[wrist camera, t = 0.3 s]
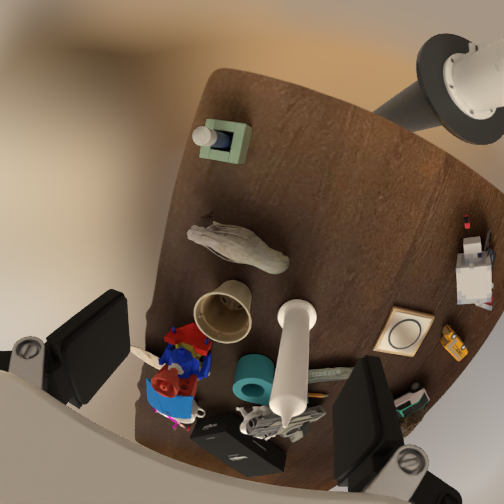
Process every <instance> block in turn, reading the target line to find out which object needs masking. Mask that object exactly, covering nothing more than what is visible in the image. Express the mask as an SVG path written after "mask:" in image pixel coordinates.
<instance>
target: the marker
mask: <svg viewBox="0 0 504 504" xmlns="http://www.w3.org/2000/svg"><path fill="white" fill-rule="evenodd" d="M232 139H233V136H230V135H227V134H224V133H221V132H218V131H215V130H213V129H210V128H207V127H204V126H201V127H198V128H197V129H195V131H194V132H193V141H194V142H195V143H196V144H197V145H201V146H211V147H218V148H225V149H231V144H232Z"/></svg>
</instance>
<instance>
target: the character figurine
mask: <svg viewBox="0 0 504 504" xmlns="http://www.w3.org/2000/svg"><path fill="white" fill-rule="evenodd" d="M153 410H155V411H154V413H156V412H159V411H158V410H156V409H155V408H153ZM159 413H160V414H162V413H161V412H159ZM162 415H164V416H165V417H168V418H169V419H171V420H172V421H173V422H175V425H174V426H173V427H172V428H173V429H174V430H176V429H177V428H176V426H177V425H180V426H181V427H183V428H184V429H185V430H186V431H189V430H190V428H191V426H192V423H188V424H187V423H181V422H179V421H176V420H174V419H173V418H171V417H170V416H168V415H165V414H162Z"/></svg>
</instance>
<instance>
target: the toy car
mask: <svg viewBox="0 0 504 504" xmlns="http://www.w3.org/2000/svg"><path fill="white" fill-rule="evenodd" d="M410 390H411V391H412V392H410V391H409V392H410V393H409V392H407V393H405V394H403V395H401V396H400V397H398V398H396V399H394V403H395V407H396V411H397V415H398V418H403V417H405V416H407V415H409V414H411V413H413V412H415V411H417V410H419V409H421V408H422V407H423V406H425V405H426V404H427V403H428V402H429V400H430V399H429V398H428V395H427V393H426V390H425V389H424V387H422V385H421V383H420V382H418V381H417V382H414V383H413V384H412V385H411V387H410Z"/></svg>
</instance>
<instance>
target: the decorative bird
mask: <svg viewBox="0 0 504 504" xmlns="http://www.w3.org/2000/svg"><path fill="white" fill-rule="evenodd" d="M212 212H213V211H212ZM212 212H211V213H210V214H208V215H205V216H204V217H201V218H205V219H207V220H208V221H210V220H211V221H212V223H213V224H214V225H211V226H209V227H207V226H206V228H203V227H198V226H195V225H193V226H192V227H191V230H188V232H187V235H188V239H190V240H192V241H194V242H195V243H198V244H201V245H203V246H204V247H206V248H208V249H209V250H211V251H212V252H213V253H214V254H216V255H217V256H219V257H221V258H223V259H225V260H227V261H230V262H235V263H244V264H250V265H252V266H255V267H258V268H260V269H262V270H264V271H266V272H268V273H272V274H279V273H282V272H284V271H285V270H286V269H288V267H289V263H290V261H289V258H288V256H286V255H285V254H283V253H282V252H279V251H276V250H273V249H271V248H269V247H268V245H267V244H266V243H264V242H263V241H262V240H261V239H260V238H259V237H258V236H257V235H256V234H255V233H254V232H252V231H250V230H248V229H246V228H243V227H239V226H234V225H222V224H220V223H217V222H215V221H213V220H212V219H211V217H212V216H210V215H211V214H212Z"/></svg>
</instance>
